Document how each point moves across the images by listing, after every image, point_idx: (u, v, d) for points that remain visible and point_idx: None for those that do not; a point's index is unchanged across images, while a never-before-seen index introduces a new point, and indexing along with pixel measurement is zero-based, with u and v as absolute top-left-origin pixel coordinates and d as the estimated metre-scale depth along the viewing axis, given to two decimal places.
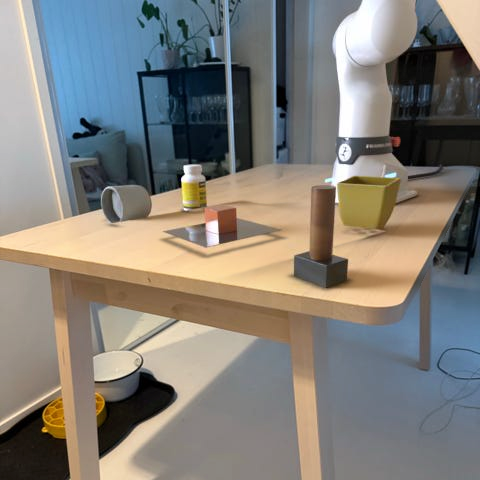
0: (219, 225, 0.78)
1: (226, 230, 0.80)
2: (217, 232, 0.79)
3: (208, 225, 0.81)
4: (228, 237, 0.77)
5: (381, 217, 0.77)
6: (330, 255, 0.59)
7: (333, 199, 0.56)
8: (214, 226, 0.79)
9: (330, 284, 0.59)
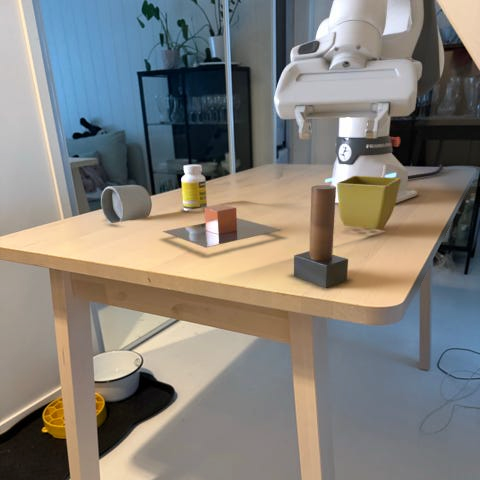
0: (219, 225, 0.78)
1: (226, 230, 0.80)
2: (217, 232, 0.79)
3: (208, 225, 0.81)
4: (228, 237, 0.77)
5: (381, 217, 0.77)
6: (330, 255, 0.59)
7: (333, 199, 0.56)
8: (214, 226, 0.79)
9: (330, 284, 0.59)
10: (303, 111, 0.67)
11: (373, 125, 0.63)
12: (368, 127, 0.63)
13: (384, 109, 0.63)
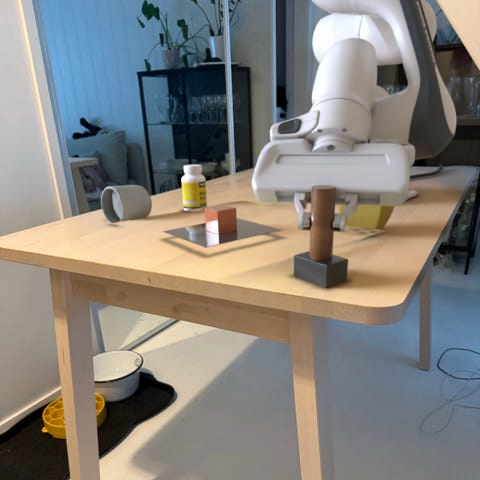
0: (219, 225, 0.78)
1: (226, 230, 0.80)
2: (217, 232, 0.79)
3: (208, 225, 0.81)
4: (228, 237, 0.77)
5: (381, 217, 0.77)
6: (330, 255, 0.59)
7: (333, 199, 0.56)
8: (214, 226, 0.79)
9: (330, 284, 0.59)
10: (303, 199, 0.59)
11: (340, 219, 0.57)
12: (335, 221, 0.57)
13: (352, 201, 0.57)
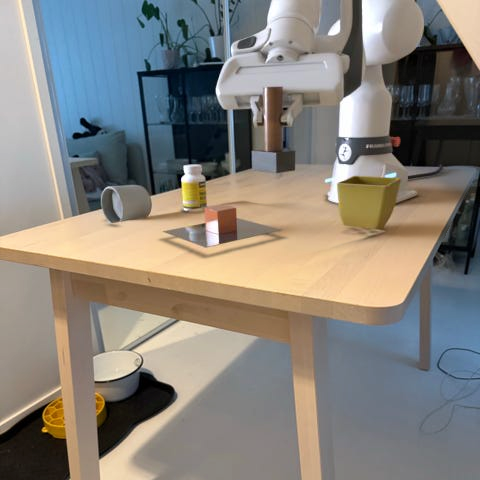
0: (219, 225, 0.78)
1: (226, 230, 0.80)
2: (217, 232, 0.79)
3: (208, 225, 0.81)
4: (228, 237, 0.77)
5: (381, 217, 0.77)
6: (280, 147, 0.72)
7: (280, 96, 0.69)
8: (214, 226, 0.79)
9: (280, 170, 0.71)
10: (257, 101, 0.72)
11: (287, 114, 0.69)
12: (282, 116, 0.69)
13: (297, 100, 0.70)
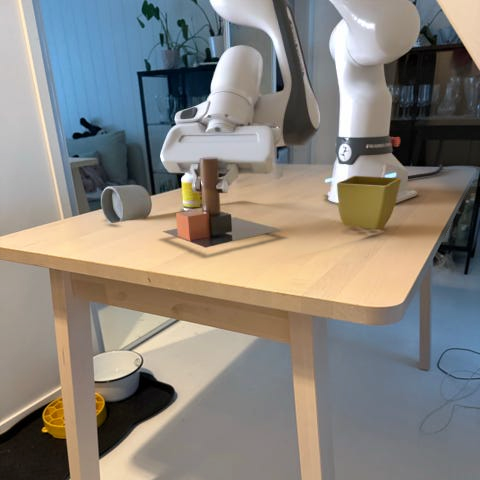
0: (191, 231, 0.75)
1: (198, 236, 0.76)
2: (188, 238, 0.76)
3: (180, 231, 0.77)
4: (228, 237, 0.77)
5: (381, 217, 0.77)
6: (217, 211, 0.78)
7: (215, 167, 0.75)
8: (186, 232, 0.76)
9: (216, 233, 0.77)
10: (196, 168, 0.78)
11: (221, 183, 0.76)
12: (217, 184, 0.76)
13: (231, 169, 0.76)
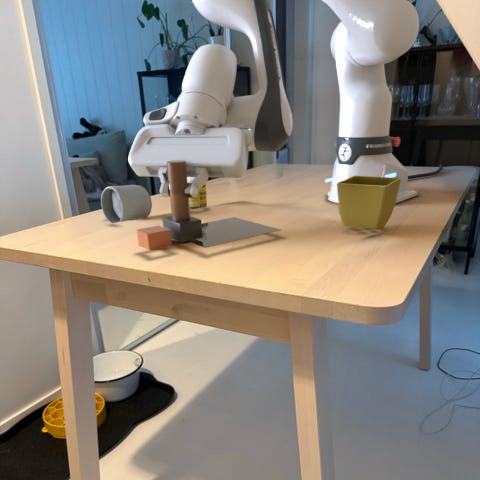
0: None
1: (169, 244, 0.73)
2: None
3: None
4: (228, 237, 0.77)
5: (381, 217, 0.77)
6: (186, 216, 0.75)
7: (183, 171, 0.71)
8: None
9: (185, 239, 0.74)
10: (165, 172, 0.75)
11: (190, 187, 0.72)
12: (186, 189, 0.72)
13: (200, 173, 0.73)
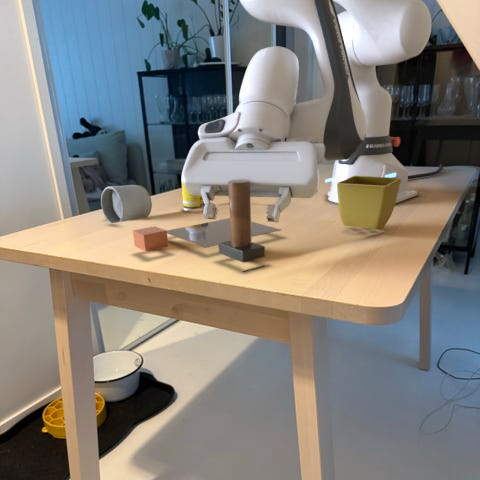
0: None
1: (165, 245, 0.73)
2: None
3: None
4: (228, 237, 0.77)
5: (381, 217, 0.77)
6: (248, 243, 0.66)
7: (247, 192, 0.63)
8: None
9: None
10: (208, 191, 0.67)
11: (273, 210, 0.63)
12: (268, 212, 0.63)
13: (284, 194, 0.63)
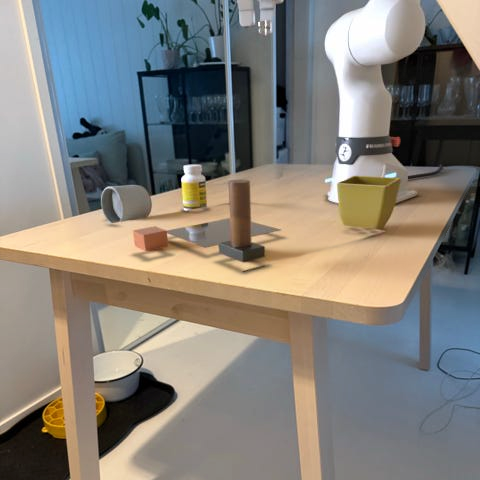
0: None
1: (166, 245, 0.73)
2: None
3: None
4: (228, 237, 0.77)
5: (381, 217, 0.77)
6: (248, 243, 0.66)
7: (247, 192, 0.63)
8: None
9: None
10: (260, 8, 0.70)
11: None
12: None
13: None
